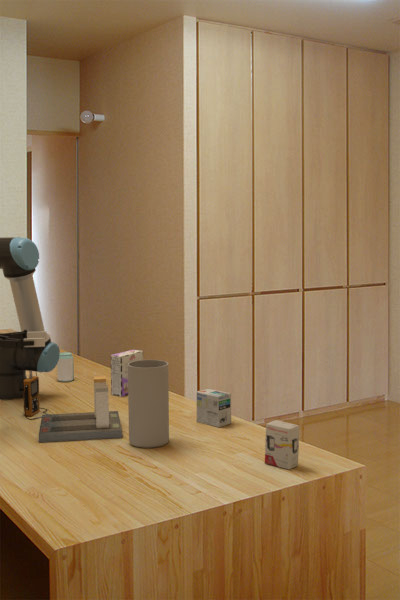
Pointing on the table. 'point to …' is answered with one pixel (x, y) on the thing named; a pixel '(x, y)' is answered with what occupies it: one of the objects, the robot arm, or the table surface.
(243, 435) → the table surface
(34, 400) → the multimeter
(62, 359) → the can
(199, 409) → the light bulb box
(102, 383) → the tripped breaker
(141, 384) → the cylinder vase
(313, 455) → the table surface
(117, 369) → the candy box
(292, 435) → the ink box
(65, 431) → the dual slider panel
